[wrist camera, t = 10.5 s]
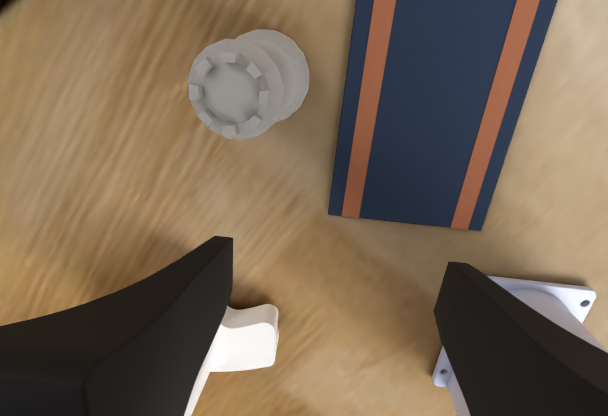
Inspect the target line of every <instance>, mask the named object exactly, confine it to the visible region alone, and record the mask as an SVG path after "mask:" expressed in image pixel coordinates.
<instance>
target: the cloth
mask: <svg viewBox="0 0 608 416" xmlns="http://www.w3.org/2000/svg"><path fill="white" fill-rule="evenodd" d="M556 3H557V0H356V6H355V14H354V21H353V29H352V36H351V44H350V51H349V59H348V67H347V74H346V82H345V89H344V97H343V104H342V112H341V119H340V127H339V135H338V142H337V150H336V157H335V165H334V172H333V180H332V187H331V195H330V203H329V210H328V214H329V215H338V216H343V217H352V218H366V219H375V220H384V221H393V222H403V223H412V224H421V225H430V226H440V227H449V228H454V229H463V230H477V231H481V229H482V226H483V223H484V220H485V217H486V214H487V211H488V208H489V205H490V202H491V199H492V196H493V193H494V190H495V187H496V184H497V181H498V178H499V175H500V171H501V168H502V165H503V162H504V159H505V156H506V153H507V150H508V147H509V144H510V141H511V138H512V135H513V132H514V129H515V126H516V123H517V120H518V117H519V114H520V111H521V108H522V105H523V102H524V99H525V96H526V93H527V90H528V87H529V84H530V81H531V78H532V75H533V72H534V69H535V66H536V63H537V60H538V57H539V54H540V51H541V48H542V45H543V42H544V39H545V36H546V33H547V30H548V27H549V24H550V21H551V18H552V15H553V12H554V9H555V6H556Z"/></svg>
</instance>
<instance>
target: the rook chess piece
mask: <svg viewBox="0 0 608 416" xmlns="http://www.w3.org/2000/svg"><path fill="white" fill-rule="evenodd" d="M309 74H310V72H309V69H308V65H307V62H306V59H305V55H304V53H303V52H302V51H301V50H300V48H299V47H298V46H297V45H296V43H295V42H294V41H293V40H292V39H291V38H289V37H287V36H285V35H284V34H282V33H280V32H278V31H276V30H266V29H256V30H253V31H250V32H247V33H245V34H242V35H239V36H238V37H237V38H236V39H223V40H221V41H218V42H216V43H213V44H210V45H208V46H207V47H206V48H205V49H204V50H203V51H202V52H201V53H200V54H199V55H198V56H197V57H196V58H195V59H194V62H193V65H192V68H191V71H190V74H189V77H188V86H189V99H190V101H191V103H192V106H193V108H194V110H195V112H196V115H197V117H198V118H199V119H200V120H201V121H202V122H203V123H204V124H205V125H206V126H207V127H208V128H209V129H210V130H211V131H213V132H215V133H217V134H219V135H221V136H223V137H225V138H227V139H239V140H247V139H250V138H253V137H256V136H259V135H262V134H263V133H264V132H265V131H266V130H267V129H269V128H270V127H271V126H272V125H273V124H274V123H276V122H279V121H282V120H285V119H287V118H288V117H289V116H290V115H291V114H293V113H294V112H295V111H296V110H297V109H298V108H299V107H300V106H301V105H302V103H303V100H304V98H305V96H306V94H307V92H308V88H309Z"/></svg>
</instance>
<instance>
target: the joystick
mask: <svg viewBox="0 0 608 416" xmlns="http://www.w3.org/2000/svg"><path fill="white" fill-rule="evenodd" d="M277 321H278V309H277V308H276V307H275V306H274V305H271V304H264V305H260V306H257V307H253V308H248V309H242V310H235V309H232V308H230V307H229V306H228V305H227V309H226V312H225V315H224V317H223V319H222V322H221V324H220V326H219V329H218V331H217V333H216V335H215V338H214V340H213V342H212V344H211V346H210V349H209V351H208V353H207V355H206V358H205V360H204V362H203V364H202V367H201V369H200V371H199V374H198V376H197V379H196V381H195V384H194V387H193V390H192V393H191V396H190V399H189V402H188V405H187V408H186V411H185V414H184V416H191V414H192V412H193V410H194V408H195V405H196V403H197V401H198V398H199V396H200V394H201V391H202V389H203V387H204V385H205V382H206V380H207V378H208V375H209V373H210V372H224V371H240V370H249V369H257V368H263V367H268V366H271V365H272V364H273V363H274V361H275V356H276V350H277V344H278V338H279V327H277Z"/></svg>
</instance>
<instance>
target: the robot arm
mask: <svg viewBox="0 0 608 416" xmlns="http://www.w3.org/2000/svg"><path fill="white" fill-rule="evenodd" d="M232 280H233V238H230V237H221V236H214V237H212V238H211V239H209V240H208V241H206V242H204V243H203V244H202V245H200V246H199V247H197V248H196V249H194V250H193V251H191V252H189V253H188V254H186V255H185V256H183V257H182V258H180V259H179V260H177V261H175V262H174V263H172V264H170V265H169V266H167V267H165V268H163V269H162V270H160V271H158V272H156V273H155V274H153V275H151V276H149V277H147V278H145V279H143V280H141V281H139V282H137V283H135V284H133V285H131V286H128V287H126V288H124V289H122V290H119V291H117V292H115V293H112V294H109V295H107V296H104V297H101V298H99V299H96V300H93V301H91V302H88V303H85V304H82V305H79V306H76V307H73V308H70V309H67V310H63V311H60V312H56V313H53V314H49V315H46V316H42V317H38V318H34V319H30V320H26V321H21V322H17V323H12V324H8V325H4V326H0V416H184V414H185V411H186V408H187V405H188V402H189V399H190V396H191V393H192V390H193V387H194V384H195V381H196V379H197V376H198V374H199V371H200V369H201V367H202V364H203V362H204V360H205V358H206V355H207V353H208V351H209V349H210V346H211V344H212V342H213V340H214V338H215V335H216V333H217V331H218V329H219V326H220V324H221V322H222V319H223V317H224V315H225V312H226V309H227V305H228V302H229V298H230V295H231V291H232ZM596 295H597V294H596V292H595V291H594V290H593V289H592V288H590V287H585V286H576V285H567V284H558V283H549V282H540V281H531V280H522V279H513V278H504V277H494V276H486V275H484V274H483V273H482V272H480V271H479V270H477V269H476V268H474V267H473V266H471V265H469V264H467V263H459V262H448V265H447V269H446V272H445V275H444V278H443V282H442V285H441V288H440V292H439V295H438V298H437V302H436V305H435V308H434V314H435V318H436V323H437V327H438V331H439V335H440V339H441V341H442V344H443V346H442V349H441V352H440V355H439V358H438V361H437V364H436V367H435V370H434V373H433V376H432V381H433V383H434V385H436V386H439V387H447V389H448V392H449V395H450V397H451V400H452V403H453V406H454V409H455V411H456V414H457V416H608V351H607V350H606V349H605V348H604V347H603V346H602V345H601V344H600V343H599V341H598V340H597V339H596V338H595V337H594V336H593V335H592V334H591V333H590V332H589V331H588V330H587V329H586V328H585V326H584V325H583V324H582V323H583V321H584V319H585V317H586V315H587V313H588V311H589V310H590V308H591V306H592V304H593V302H594V300H595V298H596ZM582 301H583V302H582ZM442 369H444V370H442Z"/></svg>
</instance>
